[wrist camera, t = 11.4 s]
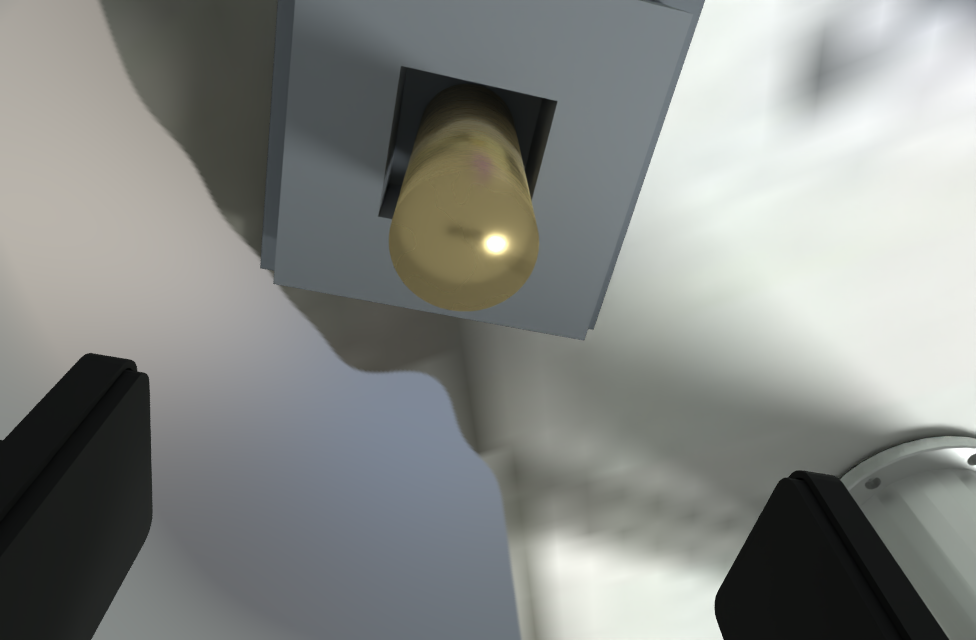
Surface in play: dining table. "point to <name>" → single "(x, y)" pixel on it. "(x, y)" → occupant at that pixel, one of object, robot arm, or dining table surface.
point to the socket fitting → (397, 115)
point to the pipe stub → (465, 205)
